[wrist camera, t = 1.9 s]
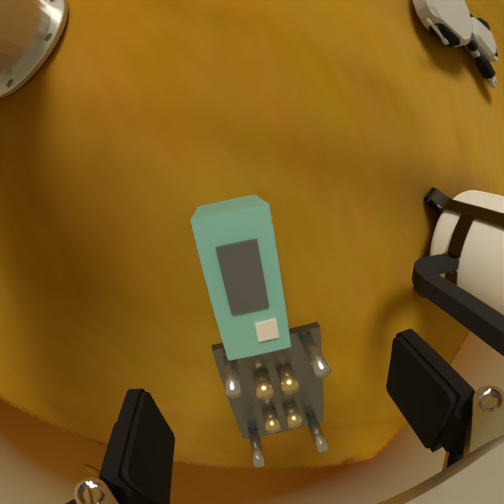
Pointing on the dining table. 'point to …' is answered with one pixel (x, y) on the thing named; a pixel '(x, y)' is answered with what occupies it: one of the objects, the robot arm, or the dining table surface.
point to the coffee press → (467, 262)
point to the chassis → (277, 389)
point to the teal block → (242, 275)
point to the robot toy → (460, 31)
